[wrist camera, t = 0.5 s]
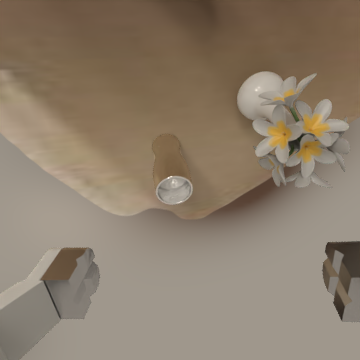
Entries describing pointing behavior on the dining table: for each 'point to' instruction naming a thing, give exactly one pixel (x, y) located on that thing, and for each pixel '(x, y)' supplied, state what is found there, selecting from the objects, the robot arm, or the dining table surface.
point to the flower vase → (291, 127)
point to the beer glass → (170, 171)
